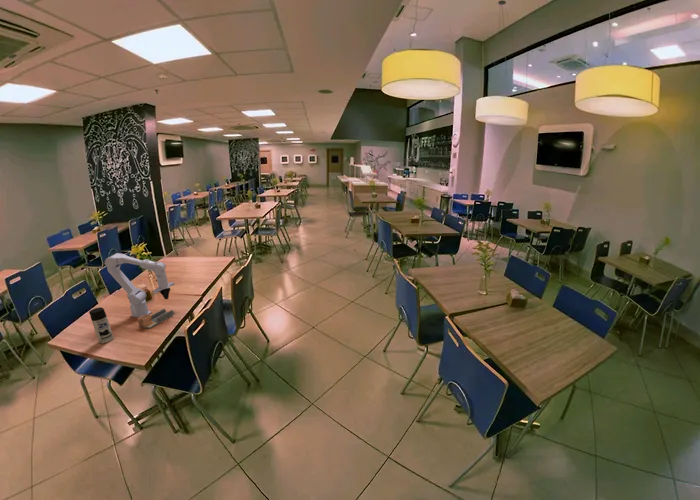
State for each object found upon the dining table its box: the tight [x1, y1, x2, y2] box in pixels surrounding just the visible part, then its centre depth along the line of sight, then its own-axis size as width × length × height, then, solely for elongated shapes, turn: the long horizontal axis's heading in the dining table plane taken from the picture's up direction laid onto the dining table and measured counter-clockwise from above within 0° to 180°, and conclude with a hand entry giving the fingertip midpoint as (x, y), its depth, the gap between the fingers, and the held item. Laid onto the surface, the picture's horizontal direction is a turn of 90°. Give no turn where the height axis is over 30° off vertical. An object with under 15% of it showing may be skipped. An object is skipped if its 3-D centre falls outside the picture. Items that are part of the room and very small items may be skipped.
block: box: [136, 314, 153, 328], centre depth 180 cm, size 5×5×6 cm
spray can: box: [88, 306, 114, 344], centre depth 165 cm, size 7×7×20 cm
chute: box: [138, 308, 175, 330], centre depth 187 cm, size 9×18×3 cm, turn 162°
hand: (166, 298), depth 195 cm, fingers closed
